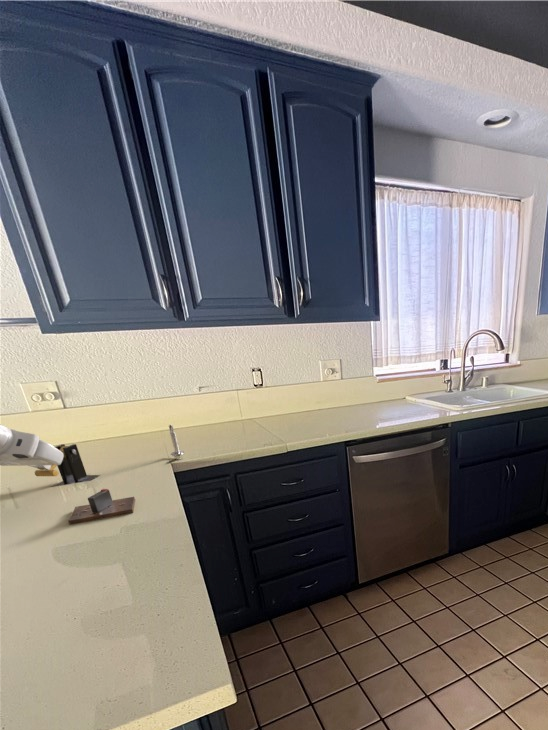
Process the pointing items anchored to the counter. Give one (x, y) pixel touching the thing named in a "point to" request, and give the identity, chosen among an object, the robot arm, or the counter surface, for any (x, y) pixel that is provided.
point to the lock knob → (100, 500)
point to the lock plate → (102, 511)
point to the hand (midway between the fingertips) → (46, 467)
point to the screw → (175, 445)
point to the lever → (51, 471)
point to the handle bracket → (72, 467)
